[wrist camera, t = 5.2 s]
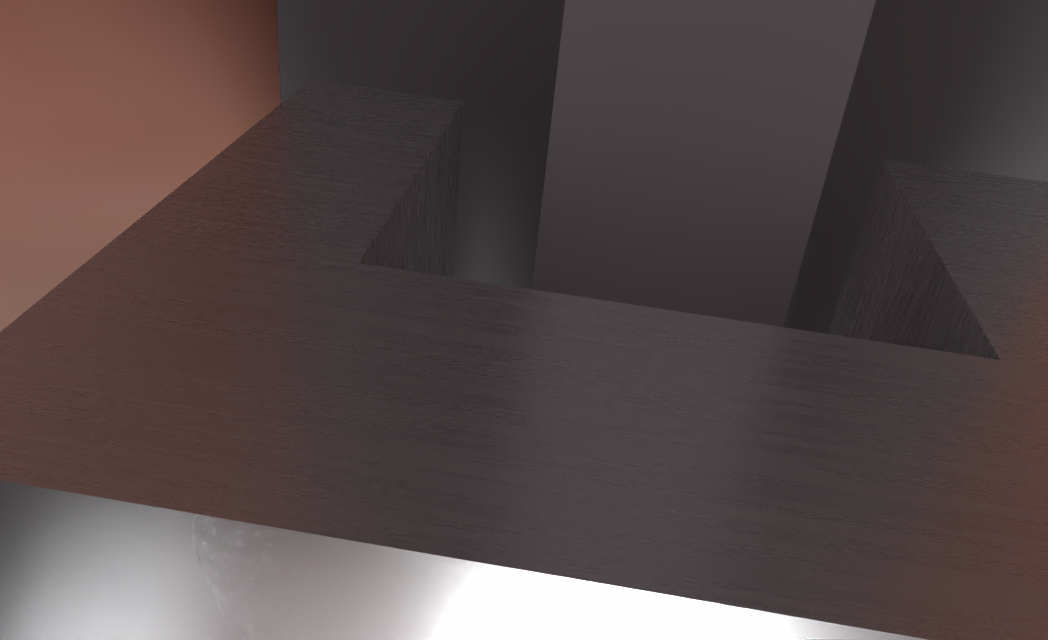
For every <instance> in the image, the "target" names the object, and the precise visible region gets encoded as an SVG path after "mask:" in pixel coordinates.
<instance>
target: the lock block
mask: <svg viewBox="0 0 1048 640" xmlns="http://www.w3.org/2000/svg"><path fill="white" fill-rule="evenodd" d="M463 105H464V101H458V100H451V99H444V98H437V97H429V96H422V95H415V94H408V93H400V92H393V91H386V90H379V89H371V88H364V87H357V86H350V85H342V84H335V83H328V82H321V81H313V80H309V81H308V82H307V83H306V84H305V85H303V86H302V87H301V88H300V89H298V90H297V91H296V92H295V93H293V94H292V95H291V96H290V97H289V98H287V99H286V100H285V101H284V102H282V103H281V104H280V105H279V106H277V107H276V108H275V109H274V110H273V111H271V112H270V113H269V114H268V115H266V116H265V117H264V118H263V119H262V120H260V121H259V122H258V123H257V124H255V125H254V126H253V127H252V128H250V129H249V130H248V131H247V132H246V133H244V134H243V135H242V136H241V137H239V138H238V139H237V140H236V141H234V142H233V143H232V144H231V145H230V146H228V147H227V148H226V149H225V150H223V151H222V152H221V153H220V154H218V155H217V156H216V157H215V158H214V159H212V160H211V161H210V162H209V163H207V164H206V165H205V166H204V167H202V168H201V169H200V170H199V171H198V172H196V173H195V174H194V175H193V176H191V177H190V178H189V179H188V180H187V181H185V182H184V183H183V184H182V185H180V186H179V187H178V188H177V189H175V190H174V191H173V192H172V193H171V194H169V195H168V196H167V197H166V198H164V199H163V200H162V201H161V202H159V203H158V204H157V205H156V206H155V207H153V208H152V209H151V210H150V211H148V212H147V213H146V214H145V215H143V216H142V217H141V218H140V219H139V220H137V221H136V222H135V223H134V224H132V225H131V226H130V227H129V228H128V229H126V230H125V231H124V232H123V233H121V234H120V235H119V236H118V237H116V238H115V239H114V240H113V241H112V242H110V243H109V244H108V245H107V246H105V247H104V248H103V249H102V250H100V251H99V252H98V253H97V254H96V255H94V256H93V257H92V258H91V259H89V260H88V261H87V262H86V263H84V264H83V265H82V266H81V267H80V268H78V269H77V270H76V271H75V272H73V273H72V274H71V275H70V276H69V277H67V278H66V279H65V280H64V281H62V282H61V283H60V284H59V285H57V286H56V287H55V288H54V289H53V290H51V291H50V292H49V293H48V294H46V295H45V296H44V297H43V298H41V299H40V300H39V301H38V302H37V303H35V304H34V305H33V306H32V307H30V308H29V309H28V310H27V311H25V312H24V313H23V314H22V315H21V316H19V317H18V318H17V319H16V320H14V321H13V322H12V323H11V324H10V325H8V326H7V327H6V328H5V329H3V330H2V331H1V332H0V640H1048V182H1045V181H1038V180H1030V179H1023V178H1016V177H1009V176H1001V175H994V174H987V173H980V172H972V171H965V170H958V169H951V168H943V167H936V166H929V165H922V164H914V163H907V162H900V161H893V160H885V159H883V160H882V163H881V167H880V170H879V173H878V176H877V179H876V182H875V186H874V189H873V192H872V195H871V198H870V202H869V205H868V208H867V211H866V214H865V217H864V221H863V224H862V227H861V230H860V233H859V237H858V240H857V243H856V246H855V249H854V252H853V256H852V259H851V262H850V265H849V268H848V272H847V275H846V278H845V281H844V284H843V288H842V291H841V294H840V297H839V300H838V303H837V307H836V310H835V313H834V316H833V319H832V323H831V326H830V329H829V332H828V334H825V333H818V332H812V331H805V330H799V329H792V328H785V327H779V326H772V325H765V324H759V323H752V322H746V321H739V320H732V319H726V318H719V317H713V316H706V315H699V314H693V313H686V312H679V311H673V310H666V309H660V308H653V307H646V306H640V305H633V304H626V303H620V302H613V301H607V300H600V299H593V298H587V297H580V296H574V295H567V294H560V293H554V292H547V291H540V290H534V289H527V288H521V287H514V286H507V285H501V284H494V283H488V282H481V281H474V280H468V279H461V278H454V277H452V274H453V258H454V243H455V228H456V212H457V197H458V182H459V166H460V151H461V136H462V120H463Z"/></svg>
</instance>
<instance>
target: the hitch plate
mask: <svg viewBox="0 0 1048 640" xmlns="http://www.w3.org/2000/svg"><path fill="white" fill-rule="evenodd" d="M277 20H278V44H279V69H280V93H281V103H282V102H284V101H285V100H286V99H287V98H289V97H290V96H291V95H292V94H293V93H295V92H296V91H297V90H298V89H300V88H301V87H302V86H303V85H305V84H306V83H307V82H308V81H309V80H313V81H321V82H328V83H335V84H342V85H350V86H357V87H364V88H371V89H379V90H386V91H393V92H400V93H408V94H415V95H422V96H429V97H437V98H444V99H451V100H458V101H464V105H463V120H462V136H461V151H460V166H459V182H458V197H457V212H456V228H455V243H454V258H453V274H452V277H454V278H461V279H468V280H474V281H481V282H488V283H494V284H501V285H507V286H514V287H521V288H527V289H534V290H540V291H547V292H554V293H560V294H567V295H574V296H580V297H587V298H593V299H600V300H607V301H613V302H620V303H626V304H633V305H640V306H646V307H653V308H660V309H666V310H673V311H679V312H686V313H693V314H699V315H706V316H713V317H719V318H726V319H732V320H739V321H746V322H752V323H759V324H765V325H772V326H779V327H785V328H792V329H799V330H805V331H812V332H818V333H825V334H828V332H829V329H830V326H831V323H832V319H833V316H834V313H835V310H836V307H837V303H838V300H839V297H840V294H841V291H842V288H843V284H844V281H845V278H846V275H847V272H848V268H849V265H850V262H851V259H852V256H853V252H854V249H855V246H856V243H857V240H858V237H859V233H860V230H861V227H862V224H863V221H864V217H865V214H866V211H867V208H868V205H869V202H870V198H871V195H872V192H873V189H874V186H875V182H876V179H877V176H878V173H879V170H880V167H881V163H882V160H883V159H885V160H893V161H900V162H907V163H914V164H922V165H929V166H936V167H943V168H951V169H958V170H965V171H972V172H980V173H987V174H994V175H1001V176H1009V177H1016V178H1023V179H1030V180H1038V181H1045V182H1048V0H277Z"/></svg>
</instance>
